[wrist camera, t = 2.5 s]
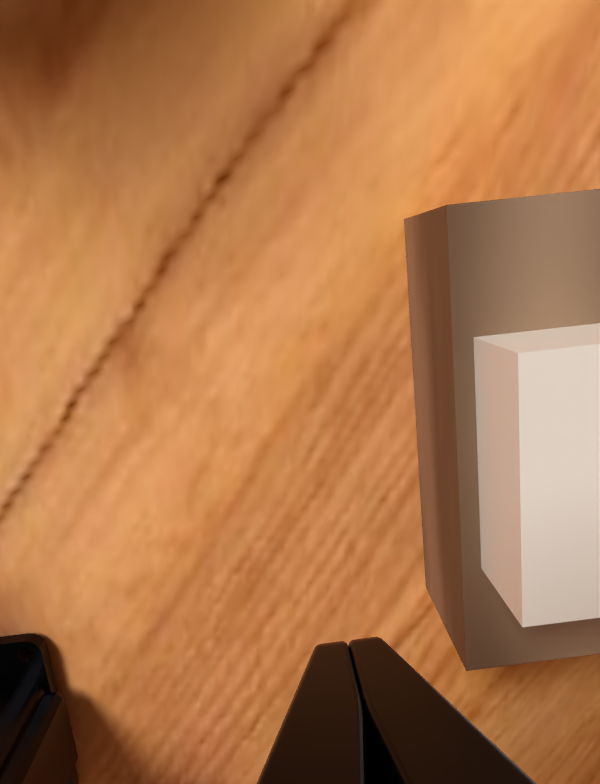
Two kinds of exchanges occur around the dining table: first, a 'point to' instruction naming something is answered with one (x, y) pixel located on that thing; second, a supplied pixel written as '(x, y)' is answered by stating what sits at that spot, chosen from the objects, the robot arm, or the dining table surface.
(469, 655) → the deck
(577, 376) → the light grey block
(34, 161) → the dining table surface
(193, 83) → the dining table surface
